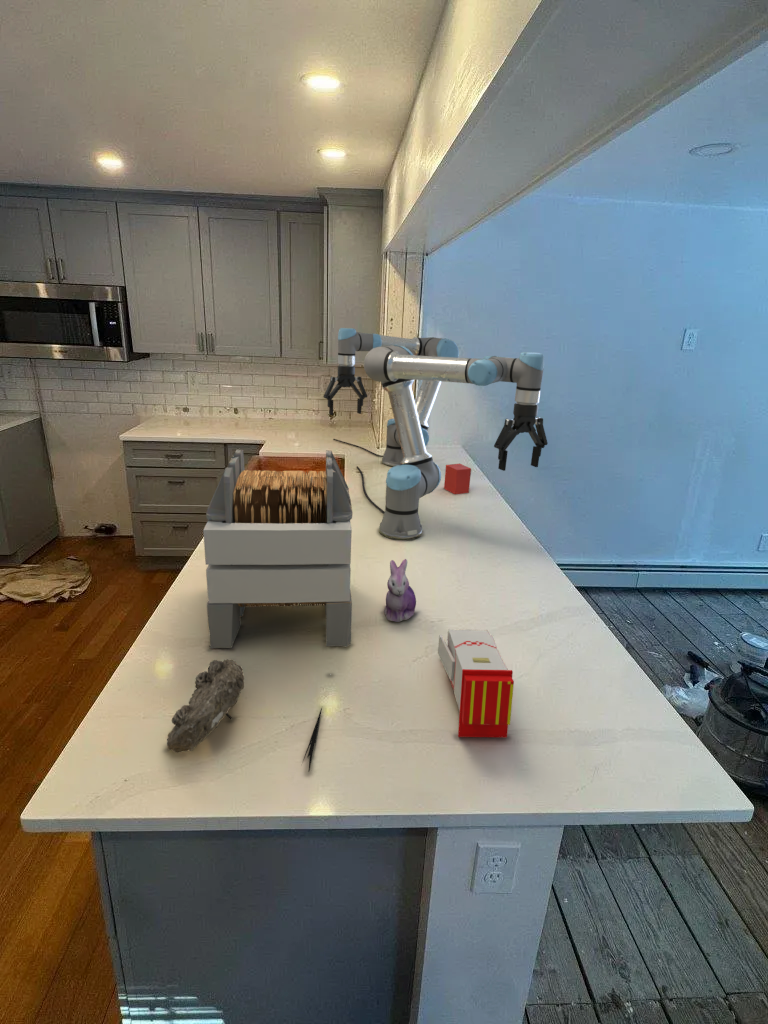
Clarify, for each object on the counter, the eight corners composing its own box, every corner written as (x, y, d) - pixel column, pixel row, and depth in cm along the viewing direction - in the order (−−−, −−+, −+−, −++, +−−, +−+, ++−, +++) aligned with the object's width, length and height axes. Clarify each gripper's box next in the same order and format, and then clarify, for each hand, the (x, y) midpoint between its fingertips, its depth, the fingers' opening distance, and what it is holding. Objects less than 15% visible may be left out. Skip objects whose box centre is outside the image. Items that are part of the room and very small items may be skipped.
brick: (468, 492, 249) (471, 468, 245) (454, 494, 246) (456, 469, 242) (457, 487, 256) (459, 463, 252) (443, 488, 253) (445, 464, 249)
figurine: (392, 627, 141) (395, 572, 136) (374, 608, 149) (376, 556, 144) (425, 619, 145) (429, 566, 140) (405, 601, 154) (408, 550, 149)
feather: (331, 679, 122) (336, 673, 122) (307, 777, 96) (313, 769, 95) (324, 675, 122) (329, 669, 121) (298, 772, 95) (304, 764, 95)
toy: (488, 613, 130) (523, 677, 101) (484, 667, 133) (517, 744, 104) (435, 612, 130) (455, 676, 101) (432, 666, 133) (451, 743, 103)
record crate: (229, 582, 160) (221, 440, 146) (345, 581, 163) (348, 442, 150) (207, 650, 128) (194, 478, 114) (351, 647, 132) (356, 479, 118)
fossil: (192, 660, 117) (244, 628, 112) (224, 691, 120) (276, 661, 115) (142, 746, 98) (202, 712, 93) (182, 779, 101) (242, 748, 96)
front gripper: (548, 400, 188) (539, 462, 196) (487, 402, 177) (480, 468, 185) (564, 403, 182) (554, 467, 189) (502, 406, 171) (494, 474, 178)
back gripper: (368, 364, 255) (366, 411, 263) (316, 364, 244) (316, 413, 251) (375, 366, 249) (373, 414, 256) (322, 366, 238) (322, 416, 245)
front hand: (518, 468), depth 187 cm, fingers open, 13 cm apart
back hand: (345, 414), depth 254 cm, fingers open, 13 cm apart
